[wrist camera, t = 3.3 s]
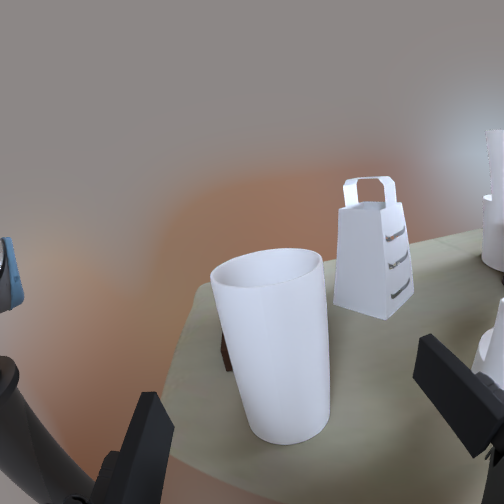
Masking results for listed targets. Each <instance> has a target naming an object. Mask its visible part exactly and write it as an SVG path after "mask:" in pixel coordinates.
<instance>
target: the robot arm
mask: <svg viewBox="0 0 504 504" xmlns="http://www.w3.org/2000/svg"><path fill="white" fill-rule="evenodd" d="M23 300H24V292H23V288H22V284H21V280H20V276H19V272H18V268H17V264H16V258H15V254H14V249H13V244H12V240H11V238H10V237H6V238H5V237H2V238H1V239H0V313H2V312H5V311H7V310H12V309H13V308H14V307H16V306H18V305H20V304H21V303H22V302H23ZM0 375H1V370H0ZM413 379H414V380H415V381H416V383H417V384H418V385H419V386H420V388H421V389H422V390H423V391H424V393H425V394H426V395H427V397H428V398H429V399H430V400H431V402H432V403H433V404H434V406H435V407H436V408H437V410H438V411H439V412H440V414H441V415H442V416H443V418H444V419H445V420H446V422H447V423H448V424H449V426H450V427H451V428H452V430H453V431H454V432H455V434H456V435H457V437H458V438H459V439H460V441H461V442H462V443H463V445H464V446H465V448H466V449H467V450H468V452H469V453H470V455H471V456H472V458H473V459H474V458H475V457H476V456H478V455H479V454H481V453H482V452H483V451H485V450H486V448H487V447H488V446H489V444H490V443H492V445H493V447H492V448H491V449H490V451H489V452H488V454H487V455H486V457H485V460H487V458H488V457H489V456H490V459H489V460H490V463H489V469H488V475H487V480H486V485H485V490H484V495H483V499H482V503H481V504H504V390H503V389H502V388H500V386H499V385H498V384H497V383H495V381H494V380H493V379H492V378H490V377H489V376H488V375H486V374H484V373H482V372H478V373H476V374H474V373H473V372H472V371H471V370H470V369H469V368H468V367H467V366H466V365H465V364H464V363H462V362H461V361H460V360H459V359H458V358H457V357H456V356H455V355H454V354H453V353H452V352H451V351H450V350H449V349H448V348H446V347H445V346H444V345H443V344H442V343H441V342H440V341H439V340H438V339H437V338H436V337H434V336H433V335H432V334H428V335H425V336H423V337H420V338H419V345H418V351H417V357H416V362H415V368H414V373H413ZM174 428H175V427H174V425H173V423H172V421H171V420H170V418H169V416H168V414H167V412H166V410H165V408H164V407H163V405H162V403H161V401H160V399H159V397H158V395H157V393H156V392H142V393H141V396H140V398H139V401H138V403H137V406H136V409H135V411H134V414H133V417H132V419H131V422H130V425H129V427H128V430H127V433H126V436H125V439H124V441H123V444H122V447H121V450H120V452H118V451H110V453H109V454H108V455H107V456H106V457H105V458H104V461H103V463H102V466H101V469H100V471H99V476H98V477H97V480H96V482H95V485H94V488H93V491H92V494H91V497H90V499H89V500H88V499H87V498H86V497H84V496H83V495H81V494H71V495H69V496H67V497H66V498H65V500H64V501H63V504H160V501H161V495H162V489H163V484H164V478H165V473H166V467H167V462H168V457H169V452H170V447H171V442H172V437H173V432H174ZM490 454H491V455H490ZM46 504H51V503H46Z"/></svg>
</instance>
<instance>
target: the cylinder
mask: <svg viewBox="0 0 504 504" xmlns="http://www.w3.org/2000/svg"><path fill="white" fill-rule="evenodd" d="M485 135H486V141H487V149H488V156H489V165H490V177H491V194H490V195H485V196H483V242H482V260H483V262H484V263H485V264H487V265H488V266H489V267H492V268H494V269H496V270H499V271H502V272H504V130H487V131H485Z"/></svg>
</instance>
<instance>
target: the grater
mask: <svg viewBox="0 0 504 504" xmlns="http://www.w3.org/2000/svg"><path fill="white" fill-rule="evenodd" d="M367 178H378V179H379V180H380V181H381V182H382V183H383V185H384V191H385V201H386V202H361V203H358V196H357V188H356V183H357V181H358V179H367ZM343 189H344V196H345V205H346V207H344V208H340V209H339V220H338V244H337V262H336V276H335V288H334V299H333V304H334V305H337V306H340V307H343V308H347V309H350V310H353V311H356V312H359V313H363V314H366V315H369V316H372V317H376V318H379V319H382V320H385V321H386V320H387V319H388V318H389V317H390V316H391V315H392V314H393V313H394V312H396V311H397V310H398V309H399V308H400V307H401V306H402V305H403V304H404V303H405V302H406V301H407V300H408V299H409V298H410V297H411V296H412V295H413V293H414V285H413V274H412V265H411V257H410V249H409V243H408V236H407V230H406V224H405V218H404V213H403V208H402V203H401V202H396V191H395V183H394V181H393V180H392V179H391V178H390V177H389V176H382V177H362V178H361V177H360V178H353V179H348V180H346V182H345V184H344V186H343ZM392 235H393V236H394V240H391V239H390V236H392ZM396 236H399V237H397V238H396ZM385 237H388V239H386V238H385ZM388 241H390V242H388ZM395 262H396V266H393V264H394V263H395ZM398 262H400V264H399V265H398ZM390 267H392V268H393V269H392V270H391V269H389V268H390ZM398 290H403V291H402V292H401V293H400V294H399V295H398V296H397V297H396V298H394V299H391V294H395V293H396V292H397V291H398Z"/></svg>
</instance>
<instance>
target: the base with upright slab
mask: <svg viewBox="0 0 504 504" xmlns="http://www.w3.org/2000/svg"><path fill="white" fill-rule="evenodd" d="M471 371H472V372H473V373H474V374H476V373H478V372H482V373H484V374H486V375H488V376H489V377H490V378H492V379H493V380H494V381H495V383H497V384H498V385H499V386H500V388H502V389H503V390H504V298H502V299H501V300H500V303H499V308H498V313H497V317H496V321H495V326H494V327H493V328H491V329H489V330H488V331H487V332H486V333H485V334H483V335H482V337H481V339H480V341H479V345H478V348H477V352H476V355H475V359H474V362H473V365H472V368H471Z"/></svg>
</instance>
